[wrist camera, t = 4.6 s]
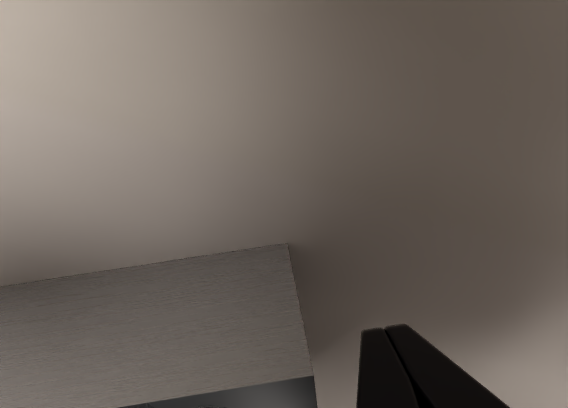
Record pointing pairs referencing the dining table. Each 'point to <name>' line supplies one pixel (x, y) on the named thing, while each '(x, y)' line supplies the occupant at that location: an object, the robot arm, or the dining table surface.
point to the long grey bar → (159, 336)
